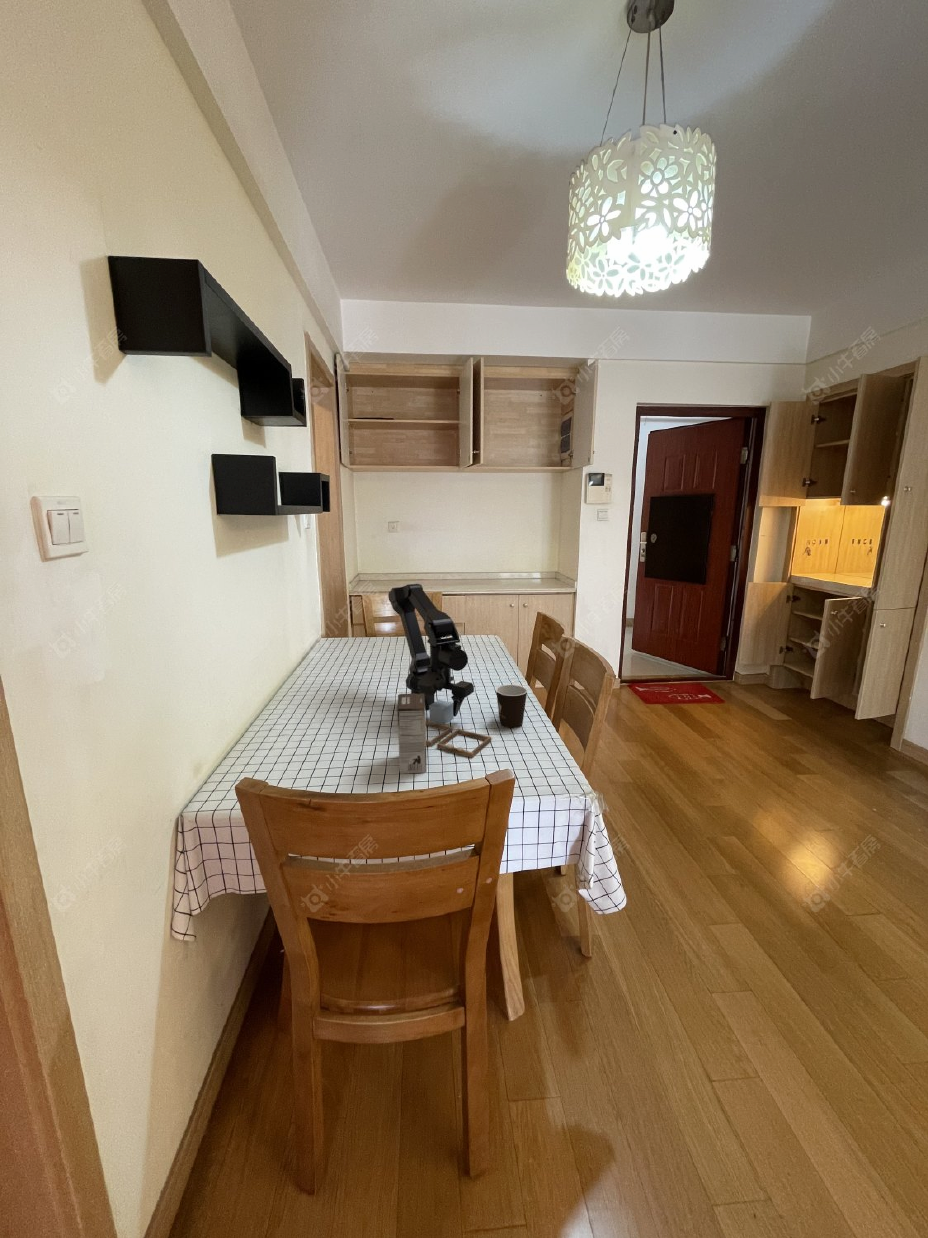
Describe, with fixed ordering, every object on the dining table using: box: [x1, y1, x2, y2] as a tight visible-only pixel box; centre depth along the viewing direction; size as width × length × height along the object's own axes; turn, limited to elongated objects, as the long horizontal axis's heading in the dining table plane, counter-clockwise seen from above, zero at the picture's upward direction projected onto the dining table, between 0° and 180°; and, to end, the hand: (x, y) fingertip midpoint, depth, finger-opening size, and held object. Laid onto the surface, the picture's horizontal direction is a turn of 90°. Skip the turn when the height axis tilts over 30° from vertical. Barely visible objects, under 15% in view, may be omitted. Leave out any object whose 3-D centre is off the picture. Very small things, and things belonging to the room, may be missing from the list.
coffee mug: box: [495, 684, 528, 729], centre depth 137 cm, size 12×9×10 cm
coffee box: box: [396, 693, 427, 774], centre depth 113 cm, size 9×6×16 cm
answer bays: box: [426, 720, 492, 759], centre depth 127 cm, size 22×11×2 cm, turn 60°
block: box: [428, 699, 455, 726], centre depth 139 cm, size 5×5×5 cm
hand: (441, 713), depth 139 cm, fingers open, 9 cm apart
